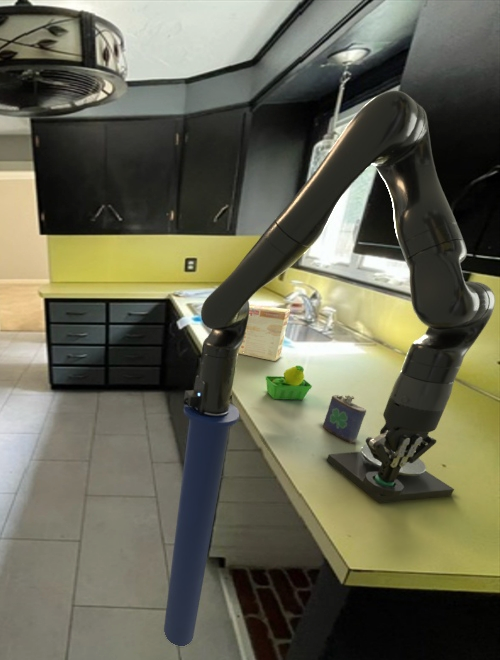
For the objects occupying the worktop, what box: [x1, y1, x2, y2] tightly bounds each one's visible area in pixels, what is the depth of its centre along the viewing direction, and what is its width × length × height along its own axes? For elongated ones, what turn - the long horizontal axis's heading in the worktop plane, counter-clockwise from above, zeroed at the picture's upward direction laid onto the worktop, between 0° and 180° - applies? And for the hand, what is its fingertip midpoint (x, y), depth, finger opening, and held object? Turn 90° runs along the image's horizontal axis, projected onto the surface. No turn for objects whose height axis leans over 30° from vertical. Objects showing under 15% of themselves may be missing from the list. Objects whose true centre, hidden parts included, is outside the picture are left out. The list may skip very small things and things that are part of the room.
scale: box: [326, 451, 455, 504], centre depth 76 cm, size 16×14×3 cm
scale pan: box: [360, 443, 427, 476], centre depth 77 cm, size 11×11×1 cm
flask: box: [322, 394, 367, 444], centre depth 90 cm, size 9×3×11 cm, turn 13°
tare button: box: [374, 475, 394, 487], centre depth 71 cm, size 3×3×2 cm
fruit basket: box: [265, 365, 313, 401], centre depth 110 cm, size 11×9×11 cm
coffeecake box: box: [238, 304, 291, 362], centre depth 144 cm, size 15×7×20 cm, turn 49°
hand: (385, 479), depth 70 cm, fingers closed
